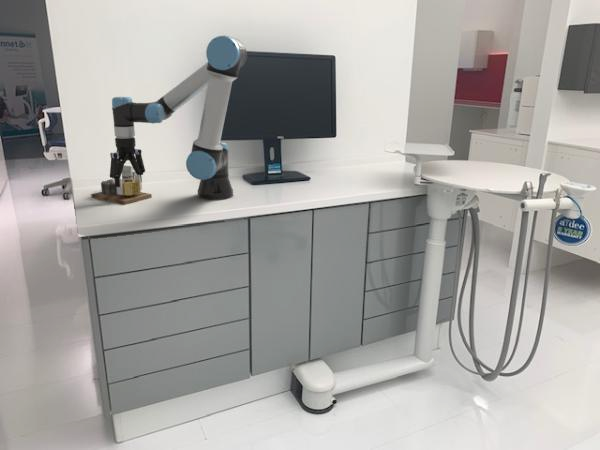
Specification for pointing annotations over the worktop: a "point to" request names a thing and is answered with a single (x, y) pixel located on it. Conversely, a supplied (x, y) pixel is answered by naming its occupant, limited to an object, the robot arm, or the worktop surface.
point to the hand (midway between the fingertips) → (129, 192)
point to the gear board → (111, 194)
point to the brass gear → (131, 186)
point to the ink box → (128, 172)
